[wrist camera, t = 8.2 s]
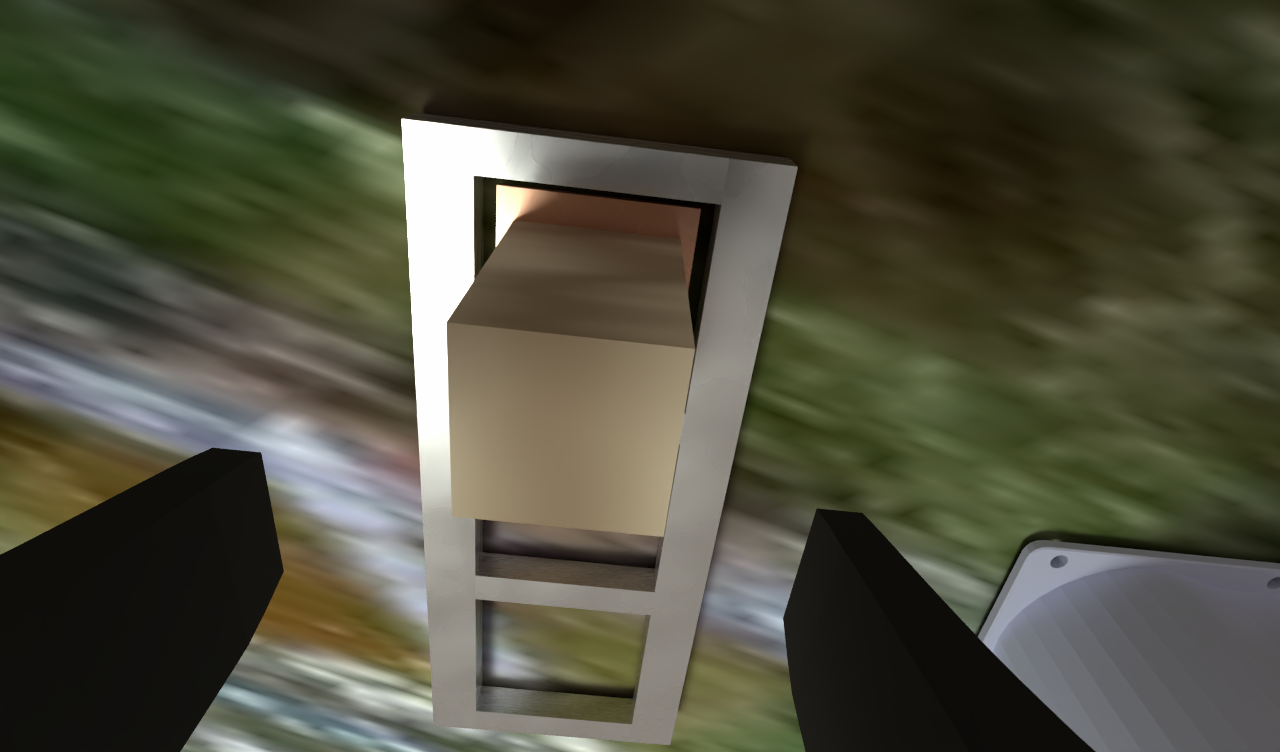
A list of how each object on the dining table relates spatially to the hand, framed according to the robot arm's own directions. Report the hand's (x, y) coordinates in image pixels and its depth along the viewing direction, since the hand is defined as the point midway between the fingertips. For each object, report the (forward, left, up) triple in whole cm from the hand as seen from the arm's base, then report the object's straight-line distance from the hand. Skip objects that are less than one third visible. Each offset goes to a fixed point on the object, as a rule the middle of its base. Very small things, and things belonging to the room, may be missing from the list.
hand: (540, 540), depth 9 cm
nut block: (0, 0, -9) cm, 9 cm away
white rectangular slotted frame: (0, +6, -9) cm, 11 cm away
